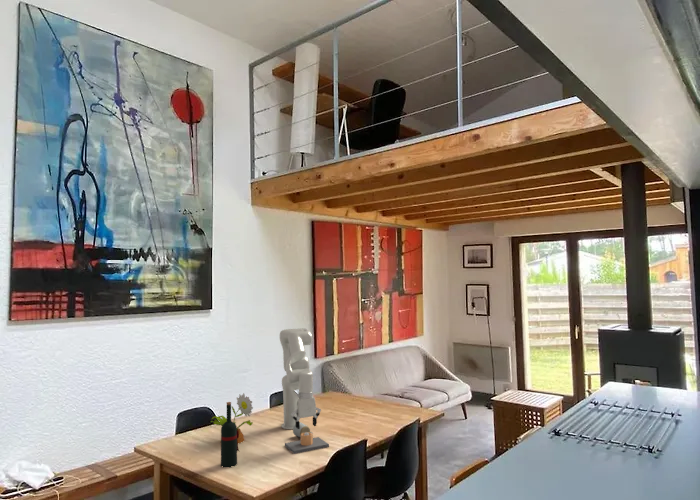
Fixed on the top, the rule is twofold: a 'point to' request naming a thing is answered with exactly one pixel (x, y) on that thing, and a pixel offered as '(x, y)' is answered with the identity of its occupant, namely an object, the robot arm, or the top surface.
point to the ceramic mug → (301, 429)
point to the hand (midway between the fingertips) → (306, 426)
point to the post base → (298, 448)
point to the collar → (306, 439)
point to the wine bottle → (229, 441)
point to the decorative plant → (245, 408)
